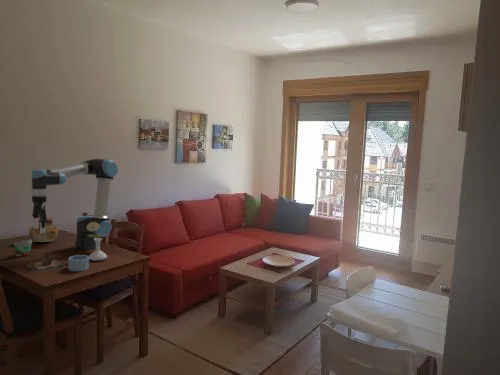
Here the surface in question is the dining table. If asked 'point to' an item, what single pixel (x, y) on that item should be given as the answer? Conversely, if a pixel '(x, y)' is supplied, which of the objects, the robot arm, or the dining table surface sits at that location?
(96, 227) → the flower in vase
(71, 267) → the ceramic bowl
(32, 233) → the clay pot
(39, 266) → the walnut lid
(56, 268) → the rubber mat
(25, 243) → the food container
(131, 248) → the dining table surface
